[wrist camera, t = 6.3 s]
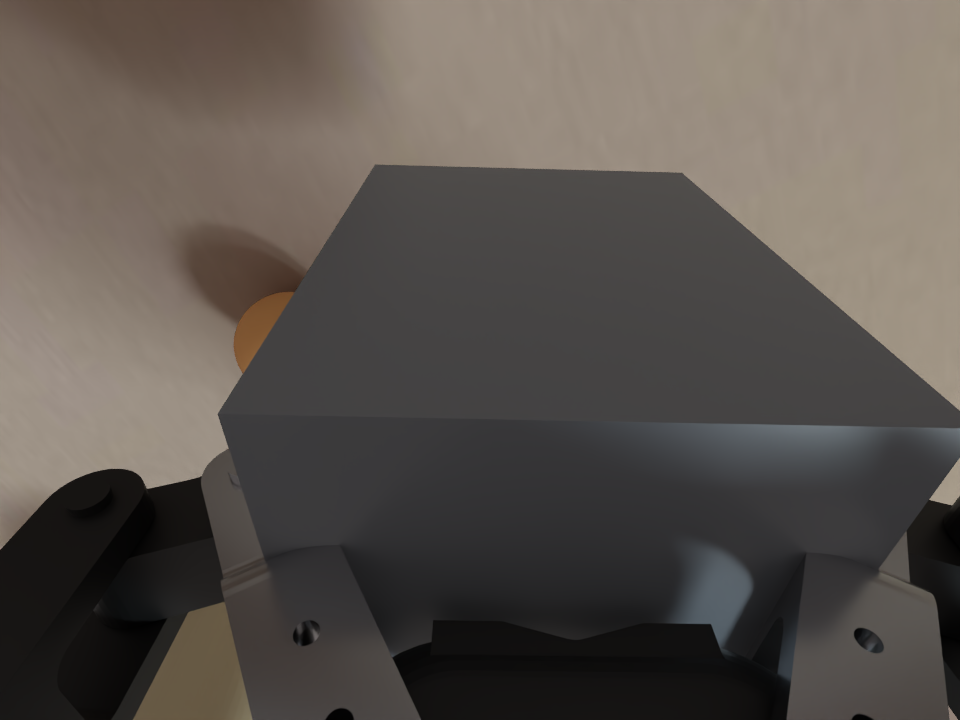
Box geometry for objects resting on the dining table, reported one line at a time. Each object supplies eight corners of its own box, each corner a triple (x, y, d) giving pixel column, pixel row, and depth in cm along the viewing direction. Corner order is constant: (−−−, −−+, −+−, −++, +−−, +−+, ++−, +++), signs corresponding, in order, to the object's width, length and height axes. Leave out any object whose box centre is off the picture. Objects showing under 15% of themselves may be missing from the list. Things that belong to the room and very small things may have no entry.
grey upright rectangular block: (681, 173, 12) (980, 429, 5) (626, 410, 16) (748, 748, 9) (375, 164, 12) (217, 414, 5) (395, 405, 16) (324, 744, 9)
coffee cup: (162, 578, 40) (61, 770, 30) (268, 548, 38) (197, 743, 28) (238, 638, 45) (173, 820, 35) (335, 614, 43) (295, 799, 33)
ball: (347, 272, 26) (323, 326, 22) (361, 357, 29) (342, 419, 25) (243, 274, 26) (200, 328, 22) (268, 358, 29) (234, 421, 25)
